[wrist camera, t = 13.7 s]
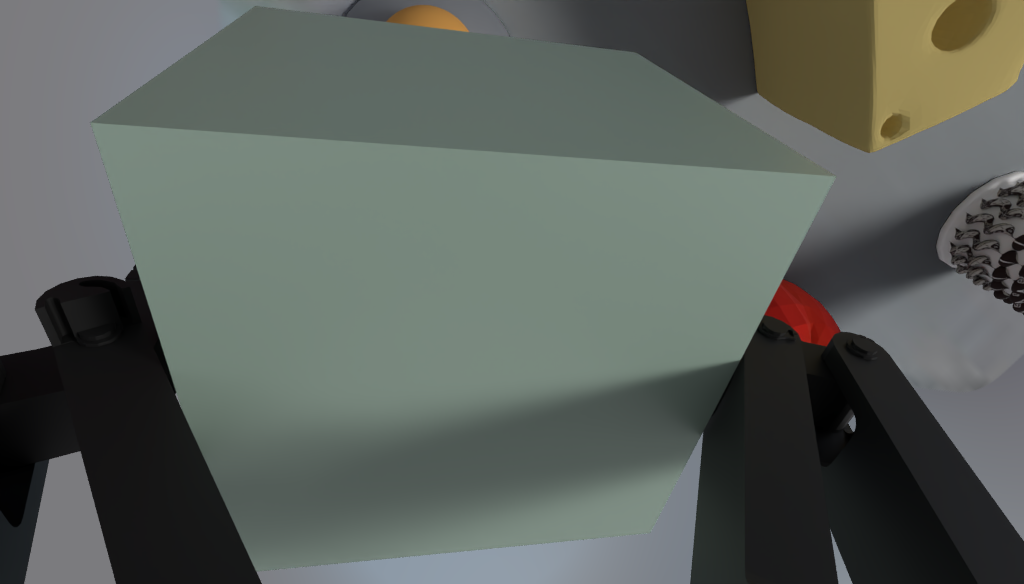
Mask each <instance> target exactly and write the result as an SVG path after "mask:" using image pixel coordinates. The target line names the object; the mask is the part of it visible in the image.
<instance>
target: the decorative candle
mask: <svg viewBox="0 0 1024 584" xmlns="http://www.w3.org/2000/svg"><path fill="white" fill-rule="evenodd" d="M936 249H937V253H938V257H939V259H940V260H942V261H943V262H945V263H946V264H948V265H950V266H951V267H953V268H957V269H956V272H957V273H958V274H963V273H967V274H966V278H968V279H973V284H975V285H983V289H984V290H987V291H989V290H994V296H995V297H996V298H997V299H1001V300H1003V301H1004V302H1005V303H1008V304H1013V303H1014V304H1013V309H1014V310H1015V311H1017V312H1020V313H1023V315H1024V172H1021V171H1015V172H1012V173H1009V174H1006V175H1003V176H1000V177H997V178H994V179H992V180H991V181H989V182H988V183H986V184H985V185H983V186H981V187H980V188H978V189H977V190H975V191H973V192H972V193H971V194H970V195H969V196H968V197H967V198H966V199H965V200H963V201H962V202H961V203H960V204H959V205H958V206H957V207H956V208H955V209H954V210H953V211H952V213H951V214H950V216H949V217H948V219H947V220H946V222H945V223H944V225H943V226H942V228H941V229H940V233H939V237H938V240H937V244H936Z"/></svg>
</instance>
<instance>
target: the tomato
mask: <svg viewBox="0 0 1024 584" xmlns="http://www.w3.org/2000/svg"><path fill="white" fill-rule="evenodd" d="M764 315H767V316H771V317H774V318H776V319H779V320H781V321H783V322H785V323H786V324H788V325H789V326H791V327H792V328H793V329H794V330H795V331H796V332H797V333H798V334H799V337H800V339H801V341H804V342H808V343H813V344H818V345H822V346H827V345H828V343H829V342H830V340H831V339H832V337H833V336H834V334H836V333H839V332H840V329H839V327H838V326H837V324H836V323H835V321H834V319H833V318H832V316H831V315H830V314H829V313H828V311H827V310H826V309H825V308H824V307H823V305H822V304H821V303H820V302H819V301H817V300H816V299H815V298H813V297H812V296H811V295H809V294H808V293H807V292H805V291H804V290H802V289H801V288H800V287H798V286H797V285H795V284H793V283H791V282H788V281H786V280H784V279H783V280H782V281H781V283H780V285H779V287H778V289H777V291H776V293H775V295H774V297H773V299H772V301H771V303H770V304H769V306H768V308H767V310H766V312H765V314H764Z"/></svg>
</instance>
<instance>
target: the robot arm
mask: <svg viewBox="0 0 1024 584" xmlns="http://www.w3.org/2000/svg"><path fill="white" fill-rule="evenodd" d="M125 279H126V280H125V281H124V280H120V279H117V278H114V277H107V276H92V277H84V278H77V279H74V280H71V281H68V282H65V283H61V284H59V285H57V286H55V287H53V288H51V289H50V290H48V291H46V292H45V293H44V294H43V295H42V296H41V297H40V298H39V299H38V300H37V301H36V306H35V311H36V313H37V315H38V317H39V319H40V321H41V323H42V325H43V327H44V329H45V332H46V334H47V336H48V338H49V340H50V342H51V344H52V346H49V347H45V348H40V349H36V350H31V351H25V352H20V353H15V354H9V355H3V356H0V584H24V581H25V576H26V571H27V566H28V562H29V556H30V552H31V547H32V542H33V537H34V532H35V527H36V522H37V517H38V512H39V507H40V502H41V498H42V492H43V487H44V483H45V478H46V473H47V468H48V463H49V459H52V458H55V457H59V456H63V455H67V454H70V453H74V452H78V451H81V454H82V458H83V462H84V466H85V469H86V473H87V476H88V481H89V484H90V488H91V492H92V495H93V499H94V502H95V507H96V510H97V514H98V518H99V521H100V525H101V529H102V533H103V536H104V540H105V544H106V548H107V551H108V555H109V559H110V563H111V566H112V570H113V574H114V578H115V581H116V584H262V583H261V581H260V579H259V577H258V575H257V572H256V570H255V568H254V566H253V563H252V561H251V559H250V557H249V555H248V553H247V550H246V548H245V546H244V544H243V542H242V539H241V537H240V535H239V533H238V531H237V529H236V526H235V524H234V522H233V520H232V518H231V516H230V513H229V511H228V509H227V507H226V505H225V502H224V500H223V498H222V496H221V494H220V492H219V489H218V487H217V485H216V483H215V481H214V478H213V476H212V474H211V472H210V470H209V468H208V465H207V463H206V461H205V459H204V457H203V455H202V452H201V450H200V448H199V446H198V444H197V441H196V439H195V437H194V435H193V433H192V431H191V428H190V426H189V424H188V422H187V420H186V417H185V415H184V413H183V411H182V409H181V407H180V405H179V402H178V400H177V398H176V396H175V394H176V389H175V386H174V383H173V380H172V377H171V374H170V371H169V367H168V364H167V361H166V358H165V355H164V352H163V349H162V346H161V342H160V339H159V336H158V333H157V330H156V327H155V324H154V320H153V317H152V314H151V311H150V308H149V305H148V302H147V299H146V295H145V292H144V289H143V286H142V283H141V280H140V277H139V274H138V270H137V267H136V264H135V266H134V267H133V270H131V272H130V273H129V274H128V275H127V277H126V278H125ZM854 415H855V418H856V429H855V431H854V432H853V431H852V430H851V428H850V426H849V424H848V422H849V421H850V420H851V419H852V417H853V416H854ZM830 529H831V532H832V534H833V537H834V539H835V542H836V544H837V546H838V549H839V551H840V554H841V556H842V559H843V561H844V564H845V566H846V568H847V571H848V573H849V576H850V578H851V581H852V583H853V584H1024V541H1023V540H1022V538H1021V537H1020V535H1019V534H1018V533H1017V531H1016V530H1015V529H1014V527H1013V526H1012V525H1011V523H1010V522H1009V520H1008V519H1007V517H1006V516H1005V515H1004V513H1003V512H1002V510H1001V509H1000V508H999V506H998V505H997V504H996V502H995V501H994V499H993V498H992V497H991V495H990V494H989V492H988V491H987V490H986V488H985V487H984V485H983V484H982V483H981V481H980V480H979V479H978V477H977V476H976V475H975V473H974V472H973V470H972V469H971V468H970V466H969V465H968V463H967V462H966V461H965V460H964V458H963V457H962V455H961V454H960V452H959V451H958V449H957V448H956V447H955V445H954V444H953V442H952V441H951V440H950V438H949V437H948V436H947V434H946V433H945V431H944V430H943V429H942V427H941V426H940V424H939V423H938V422H937V420H936V419H935V417H934V416H933V415H932V413H931V412H930V411H929V409H928V408H927V407H926V405H925V404H924V402H923V401H922V400H921V398H920V397H919V395H918V394H917V393H916V391H915V390H914V388H913V387H912V386H911V384H910V383H909V381H908V380H907V379H906V377H905V376H904V374H903V373H902V372H901V370H900V369H899V368H898V366H897V365H896V363H895V362H894V361H893V359H892V358H891V356H890V355H889V354H888V353H887V352H886V351H885V350H884V349H883V348H882V347H881V346H879V345H878V344H876V343H875V342H874V341H873V340H871V339H869V338H866V337H865V336H862V335H857V334H854V333H849V332H839V333H836V334H834V336H833V337H832V339H831V340H830V342H829V343H828V345H827V346H822V345H818V344H813V343H808V342H804V341H801V339H800V337H799V334H798V333H797V332H796V331H795V330H794V329H793V328H792V327H791V326H789V325H788V324H786V323H785V322H783V321H781V320H779V319H776V318H774V317H771V316H767V315H764V316H763V318H762V320H761V322H760V324H759V326H758V327H757V329H756V331H755V333H754V335H753V337H752V339H751V341H750V343H749V345H748V347H747V349H746V350H745V352H744V354H743V356H742V358H741V360H740V362H739V364H738V366H737V368H736V370H735V371H734V373H733V375H732V377H731V379H730V381H729V383H728V385H727V387H726V389H725V391H724V393H723V394H722V396H721V398H720V400H719V402H718V404H717V406H716V408H715V410H714V412H713V414H712V416H711V417H710V419H709V421H708V423H707V425H706V427H705V429H704V431H703V443H702V455H701V466H700V478H699V490H698V500H697V513H696V524H695V536H694V548H693V558H692V570H691V582H690V584H838V579H837V571H836V565H835V558H834V551H833V545H832V538H831V532H830Z"/></svg>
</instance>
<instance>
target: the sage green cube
mask: <svg viewBox="0 0 1024 584" xmlns="http://www.w3.org/2000/svg"><path fill="white" fill-rule="evenodd" d="M91 126H92V129H93V132H94V136H95V139H96V142H97V145H98V148H99V151H100V154H101V157H102V161H103V163H104V167H105V170H106V173H107V176H108V180H109V182H110V185H111V189H112V192H113V195H114V198H115V201H116V205H117V208H118V211H119V214H120V217H121V220H122V223H123V226H124V230H125V233H126V236H127V239H128V242H129V245H130V248H131V251H132V254H133V258H134V261H135V264H136V267H137V270H138V274H139V277H140V280H141V283H142V286H143V289H144V292H145V295H146V299H147V302H148V305H149V308H150V311H151V314H152V317H153V320H154V324H155V327H156V330H157V333H158V336H159V339H160V342H161V346H162V349H163V352H164V355H165V358H166V361H167V364H168V367H169V371H170V374H171V377H172V380H173V383H174V386H175V389H176V393H177V395H178V399H179V402H180V405H181V408H182V411H183V413H184V415H185V417H186V420H187V422H188V424H189V426H190V428H191V431H192V433H193V435H194V437H195V439H196V441H197V444H198V446H199V448H200V450H201V452H202V455H203V457H204V459H205V461H206V463H207V465H208V468H209V470H210V472H211V474H212V476H213V478H214V481H215V483H216V485H217V487H218V489H219V492H220V494H221V496H222V498H223V500H224V502H225V505H226V507H227V509H228V511H229V513H230V516H231V518H232V520H233V522H234V524H235V526H236V529H237V531H238V533H239V535H240V537H241V539H242V542H243V544H244V546H245V548H246V550H247V553H248V555H249V557H250V559H251V561H252V563H253V566H254V568H255V570H256V571H266V570H277V569H286V568H297V567H307V566H318V565H328V564H338V563H348V562H359V561H369V560H378V559H389V558H400V557H410V556H420V555H430V554H440V553H450V552H461V551H471V550H482V549H492V548H502V547H511V546H523V545H533V544H542V543H553V542H563V541H574V540H584V539H595V538H604V537H615V536H625V535H635V534H646V533H650V532H651V530H652V528H653V526H654V525H655V523H656V521H657V519H658V517H659V515H660V513H661V511H662V509H663V507H664V506H665V503H666V502H667V500H668V498H669V496H670V494H671V492H672V490H673V488H674V486H675V484H676V482H677V480H678V479H679V477H680V475H681V473H682V471H683V469H684V467H685V465H686V463H687V461H688V459H689V458H690V456H691V454H692V452H693V450H694V448H695V446H696V444H697V442H698V440H699V439H700V437H701V435H702V433H703V431H704V429H705V427H706V425H707V423H708V421H709V419H710V417H711V416H712V414H713V412H714V410H715V408H716V406H717V404H718V402H719V400H720V398H721V396H722V394H723V393H724V391H725V389H726V387H727V385H728V383H729V381H730V379H731V377H732V375H733V373H734V371H735V370H736V368H737V366H738V364H739V362H740V360H741V358H742V356H743V354H744V352H745V350H746V349H747V347H748V345H749V343H750V341H751V339H752V337H753V335H754V333H755V331H756V329H757V327H758V326H759V324H760V322H761V320H762V318H763V316H764V314H765V312H766V310H767V308H768V306H769V304H770V303H771V301H772V299H773V297H774V295H775V293H776V291H777V289H778V287H779V285H780V283H781V281H782V280H783V278H784V276H785V274H786V272H787V270H788V268H789V266H790V264H791V262H792V260H793V258H794V257H795V255H796V253H797V251H798V249H799V247H800V245H801V243H802V241H803V239H804V237H805V236H806V234H807V232H808V230H809V228H810V226H811V224H812V222H813V220H814V218H815V216H816V214H817V213H818V211H819V209H820V207H821V205H822V203H823V201H824V199H825V197H826V195H827V193H828V191H829V190H830V188H831V186H832V184H833V182H834V180H835V178H836V176H835V175H833V174H832V173H830V172H828V171H827V170H825V169H823V168H822V167H820V166H819V165H817V164H815V163H814V162H812V161H810V160H809V159H807V158H806V157H804V156H802V155H801V154H799V153H798V152H796V151H794V150H793V149H791V148H789V147H788V146H786V145H785V144H783V143H781V142H780V141H778V140H777V139H775V138H773V137H772V136H770V135H768V134H767V133H765V132H764V131H762V130H760V129H759V128H757V127H756V126H754V125H752V124H751V123H749V122H747V121H746V120H744V119H743V118H741V117H739V116H738V115H736V114H734V113H733V112H731V111H730V110H728V109H726V108H725V107H723V106H722V105H720V104H718V103H717V102H715V101H713V100H712V99H710V98H709V97H707V96H705V95H704V94H702V93H701V92H699V91H697V90H696V89H694V88H692V87H691V86H689V85H688V84H686V83H684V82H683V81H681V80H680V79H678V78H676V77H675V76H673V75H671V74H670V73H668V72H667V71H665V70H663V69H662V68H660V67H658V66H657V65H655V64H654V63H652V62H650V61H649V60H647V59H646V58H644V57H642V56H641V55H639V54H637V53H636V52H628V51H620V50H612V49H604V48H595V47H587V46H579V45H571V44H563V43H554V42H546V41H538V40H530V39H522V38H513V37H505V36H497V35H489V34H481V33H472V32H464V31H456V30H448V29H440V28H431V27H423V26H415V25H407V24H399V23H390V22H382V21H374V20H366V19H358V18H349V17H341V16H333V15H325V14H317V13H308V12H300V11H292V10H284V9H276V8H267V7H259V6H255V7H253V8H252V9H251V10H249V11H248V12H246V13H245V14H243V15H242V16H241V17H239V18H238V19H236V20H235V21H234V22H232V23H231V24H229V25H228V26H226V27H225V28H224V29H222V30H221V31H219V32H218V33H217V34H215V35H214V36H212V37H211V38H210V39H208V40H207V41H205V42H204V43H203V44H201V45H200V46H198V47H197V48H196V49H194V50H193V51H191V52H190V53H188V54H187V55H185V56H184V57H183V58H181V59H180V60H178V61H177V62H176V63H174V64H173V65H172V66H170V67H169V68H167V69H166V70H164V71H163V72H161V73H160V74H159V75H157V76H156V77H154V78H153V79H152V80H150V81H149V82H147V83H146V84H145V85H143V86H142V87H140V88H139V89H137V90H136V91H135V92H133V93H132V94H130V95H129V96H127V97H126V98H125V99H123V100H122V101H121V102H119V103H118V104H116V105H115V106H113V107H112V108H111V109H109V110H108V111H106V112H105V113H103V114H102V115H101V116H99V117H98V118H97V119H95V120H94V121H92V122H91Z"/></svg>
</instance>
